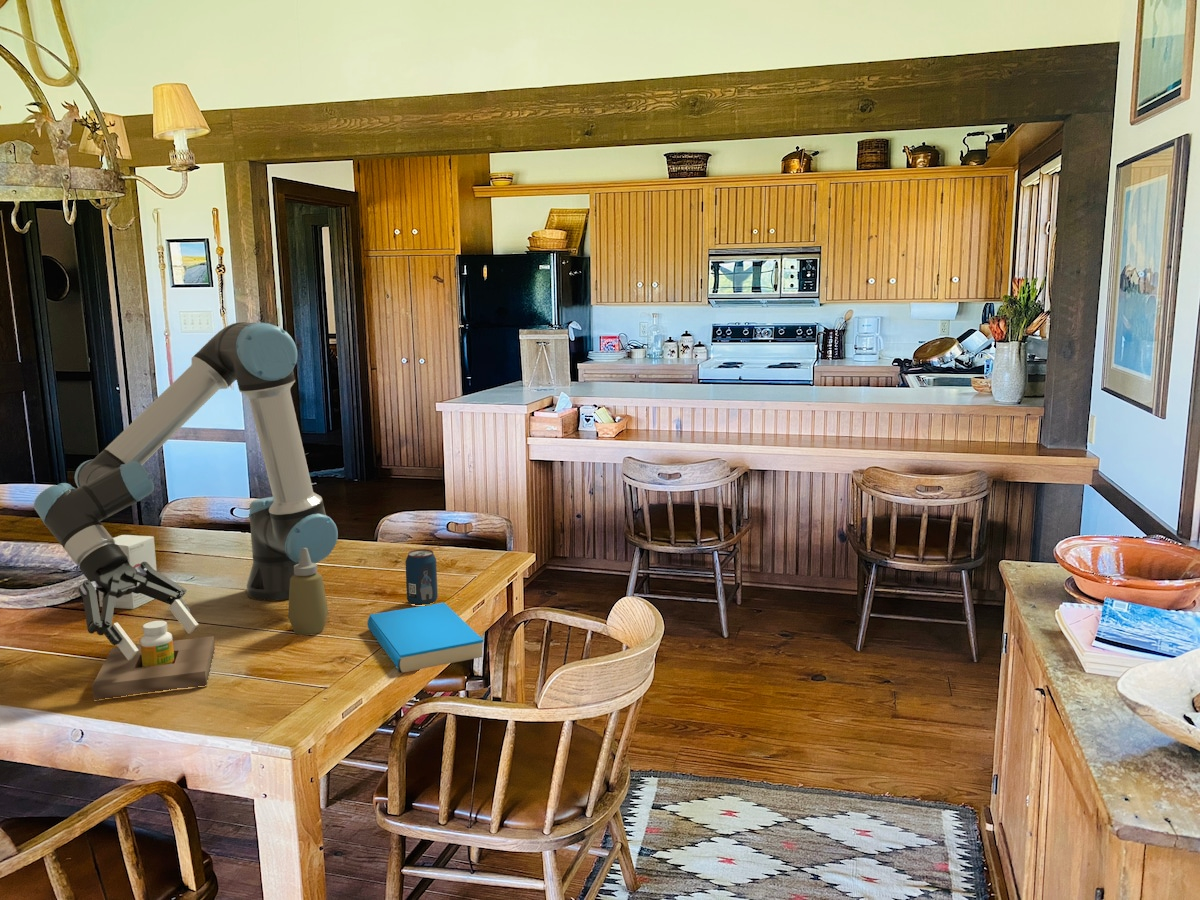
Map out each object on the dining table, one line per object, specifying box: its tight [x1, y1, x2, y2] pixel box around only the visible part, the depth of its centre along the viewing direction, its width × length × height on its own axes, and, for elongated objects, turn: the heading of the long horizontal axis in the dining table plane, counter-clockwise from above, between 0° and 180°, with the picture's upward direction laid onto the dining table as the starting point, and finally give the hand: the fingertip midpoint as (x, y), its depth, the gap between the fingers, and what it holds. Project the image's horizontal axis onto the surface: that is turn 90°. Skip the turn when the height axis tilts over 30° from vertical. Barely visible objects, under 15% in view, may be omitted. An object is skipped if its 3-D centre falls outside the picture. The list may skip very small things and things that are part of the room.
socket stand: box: [91, 635, 216, 701], centre depth 165 cm, size 18×18×3 cm
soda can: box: [405, 548, 439, 605], centre depth 203 cm, size 7×7×12 cm
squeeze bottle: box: [287, 548, 329, 636], centre depth 186 cm, size 8×8×18 cm
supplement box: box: [98, 534, 158, 610], centre depth 204 cm, size 9×9×15 cm
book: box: [366, 602, 484, 673], centre depth 180 cm, size 17×4×25 cm
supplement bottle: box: [139, 620, 175, 667], centre depth 165 cm, size 5×5×10 cm
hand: (164, 642), depth 163 cm, fingers open, 13 cm apart
